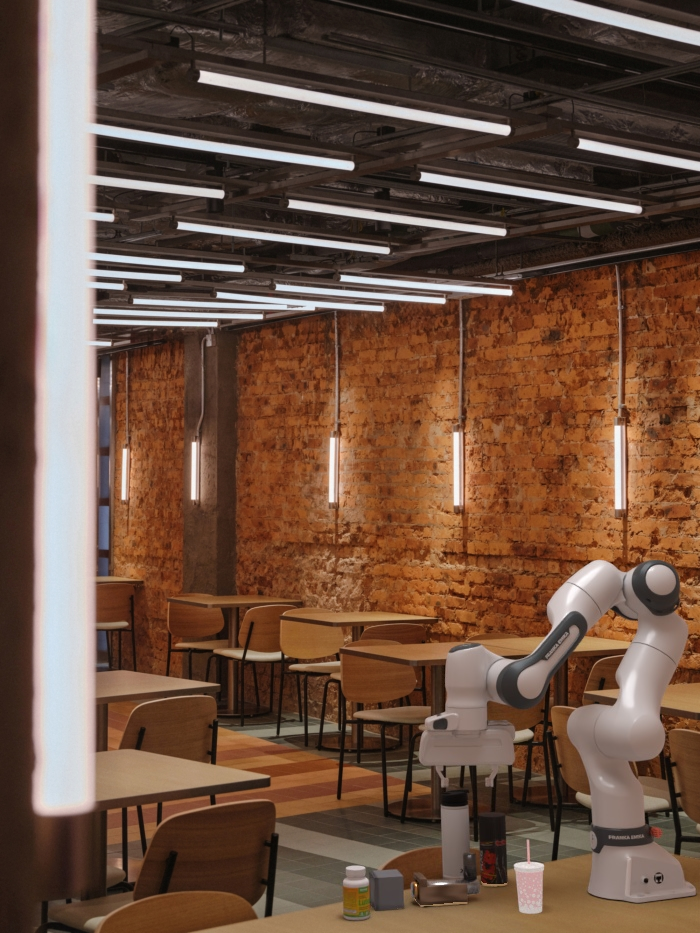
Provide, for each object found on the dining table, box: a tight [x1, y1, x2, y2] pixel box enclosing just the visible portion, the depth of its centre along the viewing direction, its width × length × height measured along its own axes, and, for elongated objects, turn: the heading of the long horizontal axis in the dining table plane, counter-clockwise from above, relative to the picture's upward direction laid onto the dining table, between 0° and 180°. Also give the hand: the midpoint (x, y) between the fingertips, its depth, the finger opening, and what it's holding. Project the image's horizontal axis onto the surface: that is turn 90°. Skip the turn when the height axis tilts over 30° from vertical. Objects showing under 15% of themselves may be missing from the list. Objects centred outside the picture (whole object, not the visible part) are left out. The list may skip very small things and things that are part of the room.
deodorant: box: [478, 811, 509, 884], centre depth 268 cm, size 6×6×15 cm
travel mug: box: [440, 788, 471, 879], centre depth 272 cm, size 6×7×20 cm
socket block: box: [368, 869, 405, 912], centre depth 251 cm, size 6×6×6 cm
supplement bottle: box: [342, 865, 371, 921], centre depth 243 cm, size 5×5×10 cm
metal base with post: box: [410, 852, 480, 899], centre depth 254 cm, size 14×3×8 cm, turn 99°
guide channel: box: [412, 871, 469, 905], centre depth 253 cm, size 10×6×6 cm, turn 99°
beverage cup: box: [513, 839, 545, 915], centre depth 245 cm, size 6×6×14 cm
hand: (467, 786), depth 256 cm, fingers open, 8 cm apart
